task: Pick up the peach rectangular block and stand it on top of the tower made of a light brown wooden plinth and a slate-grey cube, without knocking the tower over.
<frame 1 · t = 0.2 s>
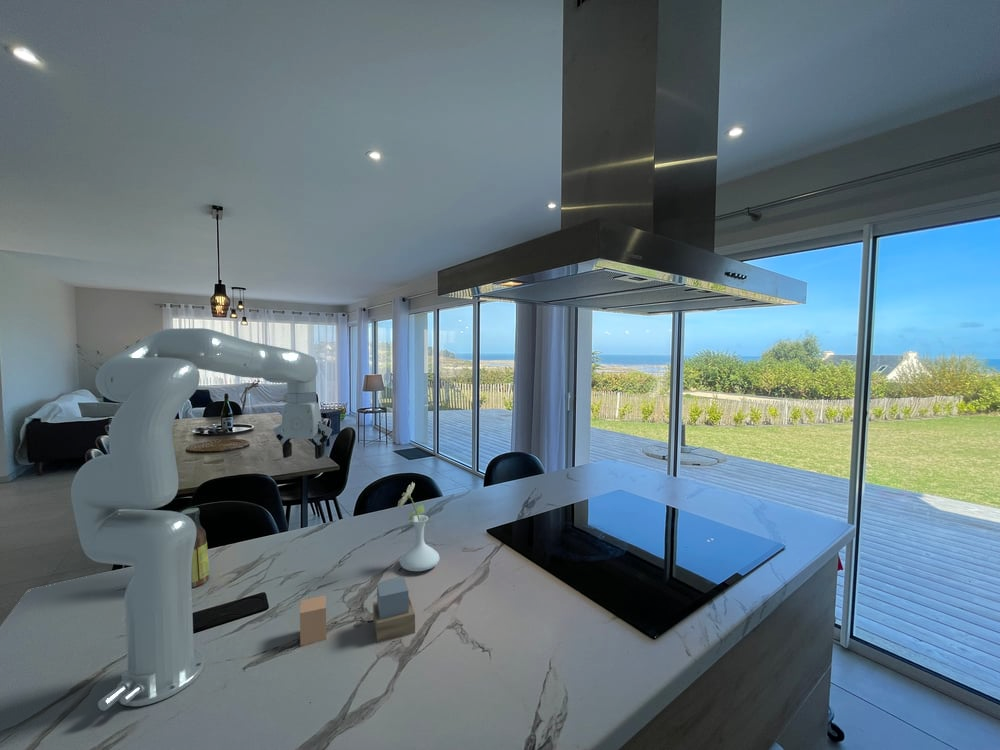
hand: (303, 457, 120), 31 cm above the kitchen island countertop, tool pointing down, fingers open, 9 cm apart
slate-grey cube: (392, 608, 92), point 4 cm above the kitchen island countertop
light brown wooden plinth: (393, 627, 92), on the kitchen island countertop
peach rectangular block: (313, 635, 89), on the kitchen island countertop
flower in vase: (417, 567, 118), on the kitchen island countertop
sauce bottle: (194, 584, 109), on the kitchen island countertop
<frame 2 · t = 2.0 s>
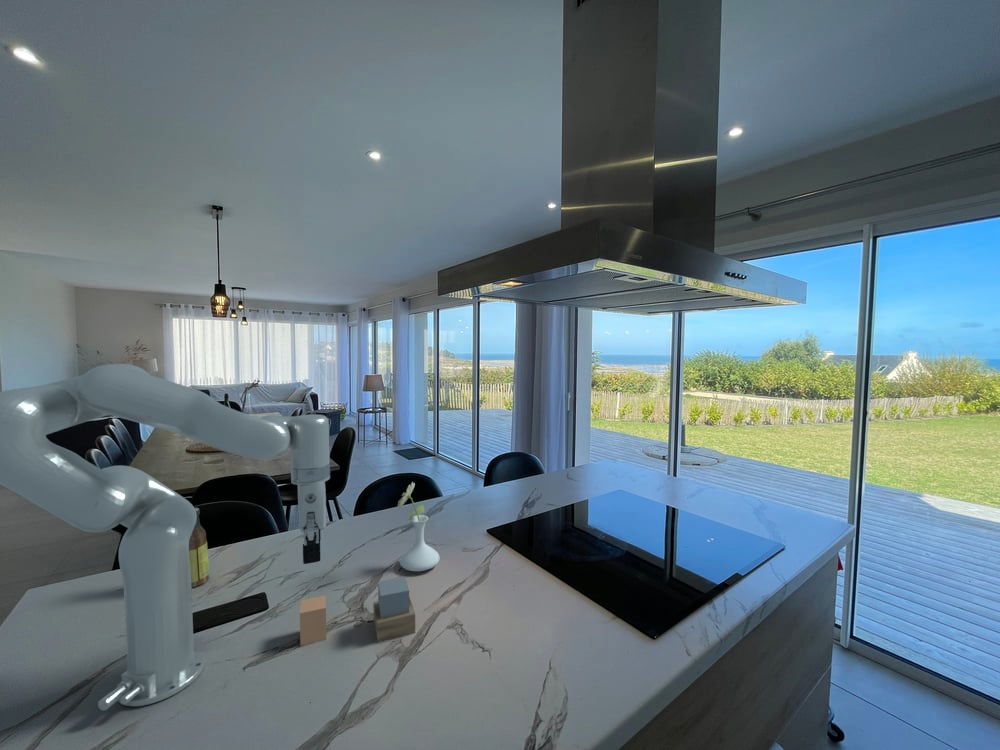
hand: (312, 551, 89), 18 cm above the kitchen island countertop, tool pointing down, fingers open, 9 cm apart
nothing on the kitchen island countertop moved.
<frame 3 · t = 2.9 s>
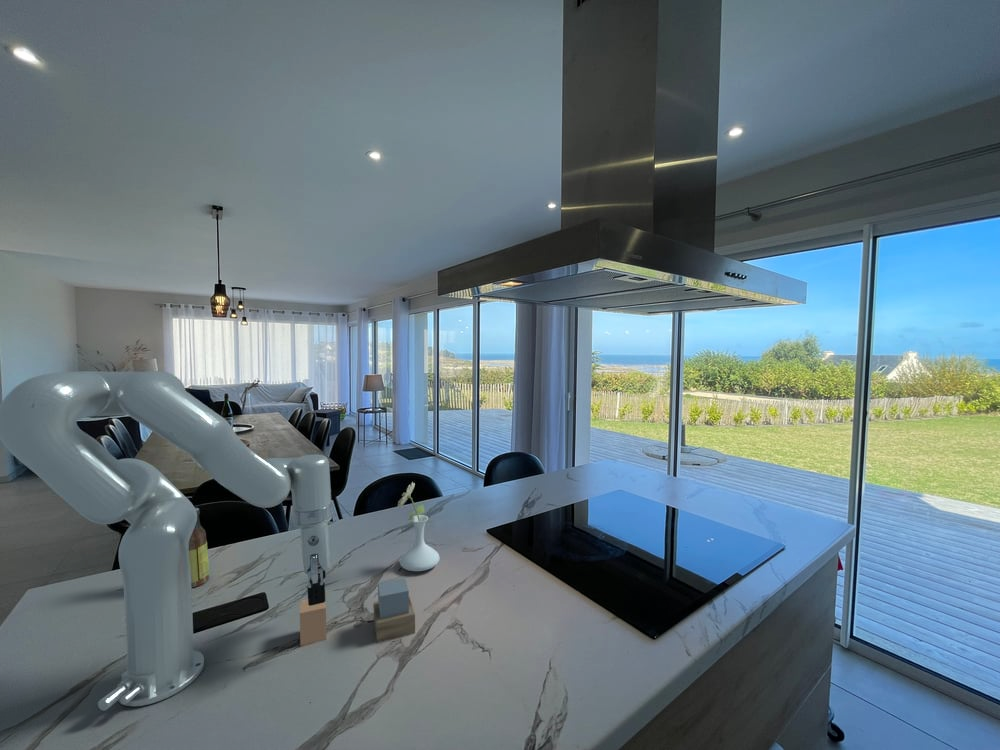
hand: (317, 590, 89), 10 cm above the kitchen island countertop, tool pointing down, fingers open, 9 cm apart
slate-grey cube: (393, 608, 92), point 4 cm above the kitchen island countertop, touching light brown wooden plinth
light brown wooden plinth: (393, 627, 92), on the kitchen island countertop, touching slate-grey cube
everything else where it was.
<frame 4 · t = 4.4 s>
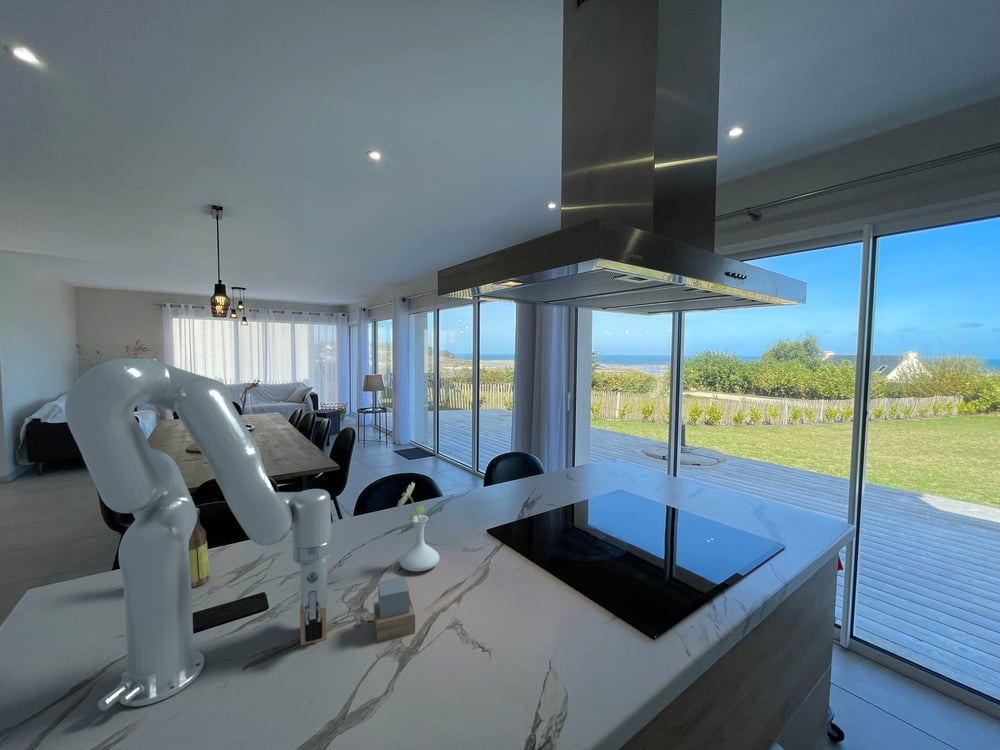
hand: (314, 630, 89), 1 cm above the kitchen island countertop, tool pointing down, fingers closed on peach rectangular block, 5 cm apart
slate-grey cube: (393, 607, 92), point 4 cm above the kitchen island countertop
light brown wooden plinth: (394, 627, 92), on the kitchen island countertop
peach rectangular block: (314, 635, 89), on the kitchen island countertop, touching gripper
everything else where it was.
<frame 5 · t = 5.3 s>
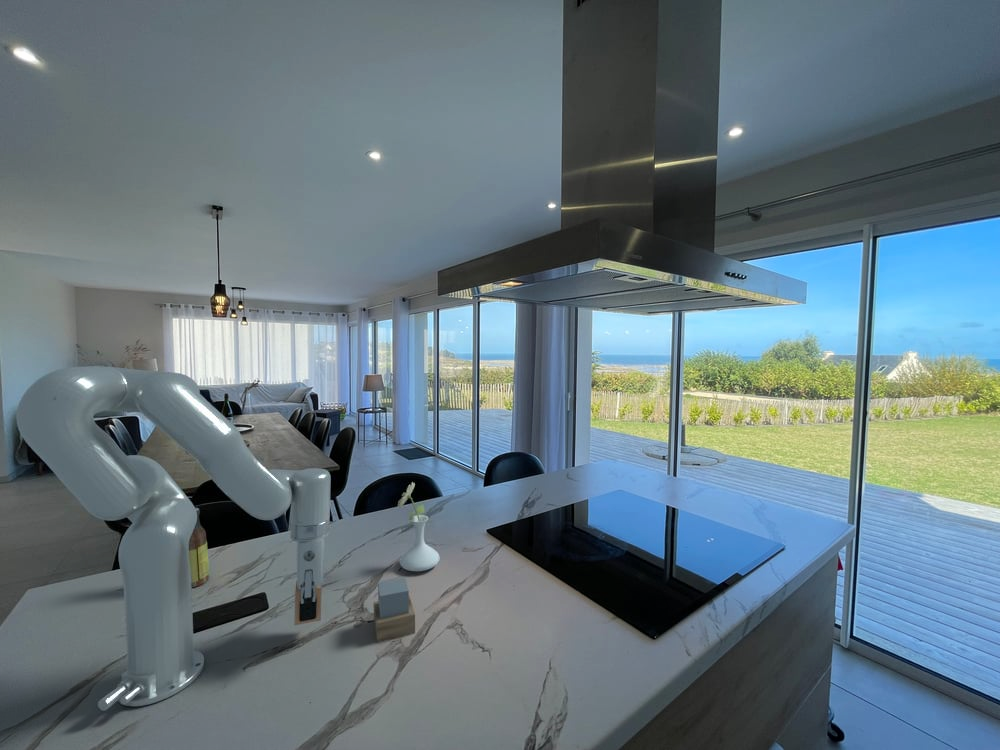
hand: (308, 610, 89), 6 cm above the kitchen island countertop, tool pointing down, fingers closed on peach rectangular block, 4 cm apart
slate-grey cube: (393, 608, 92), point 4 cm above the kitchen island countertop, touching light brown wooden plinth
light brown wooden plinth: (394, 627, 92), on the kitchen island countertop, touching slate-grey cube
peach rectangular block: (308, 615, 89), point 5 cm above the kitchen island countertop, touching gripper
everything else where it was.
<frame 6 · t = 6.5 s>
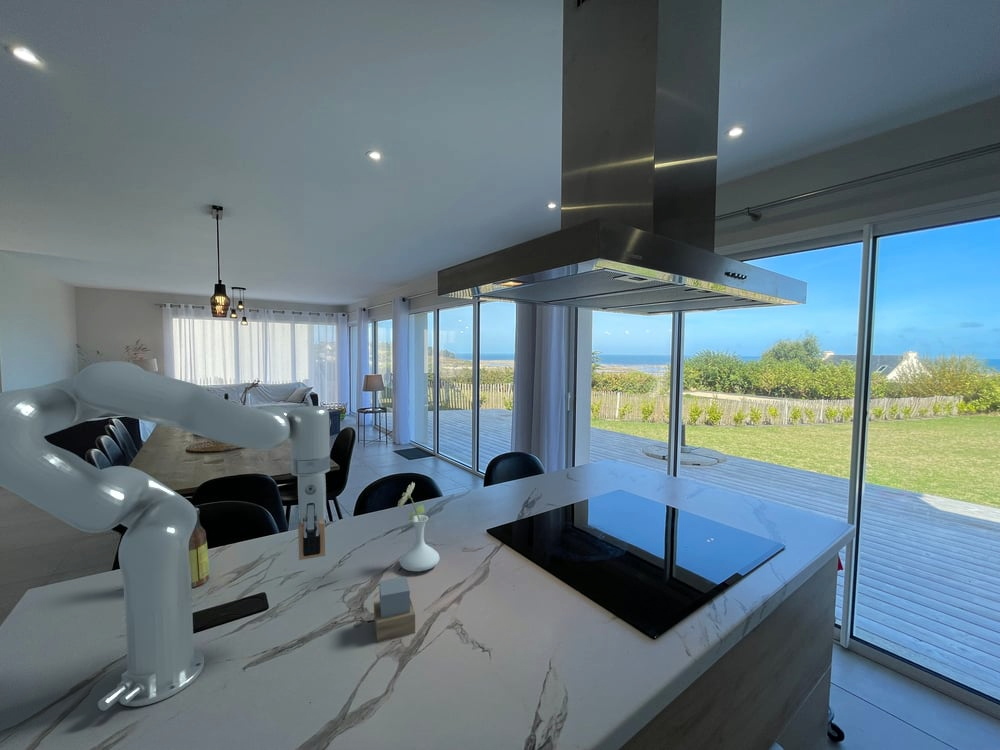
hand: (312, 547, 88), 19 cm above the kitchen island countertop, tool pointing down, fingers closed on peach rectangular block, 4 cm apart
peach rectangular block: (312, 552, 88), point 18 cm above the kitchen island countertop, touching gripper
everything else where it was.
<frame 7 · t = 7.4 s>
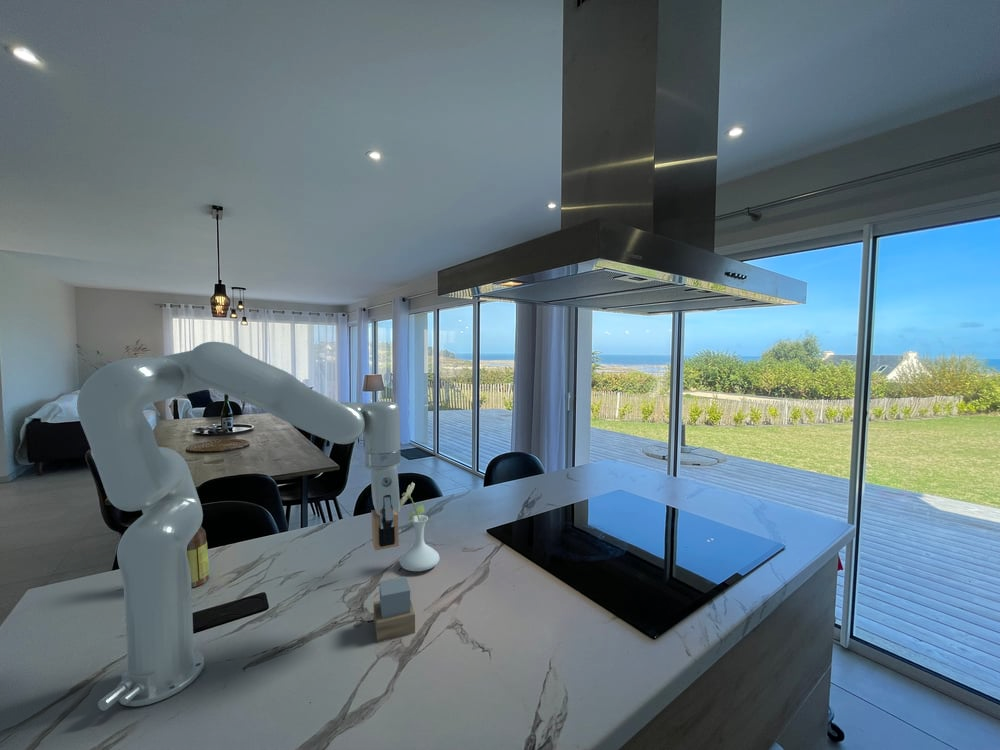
hand: (385, 538, 91), 20 cm above the kitchen island countertop, tool pointing down, fingers closed on peach rectangular block, 4 cm apart
peach rectangular block: (385, 543, 91), point 19 cm above the kitchen island countertop, touching gripper
everything else where it was.
when the fingers open (12 cm above the kitchen island countertop, at t = 9.8 s): peach rectangular block drops 2 cm, resting on slate-grey cube.
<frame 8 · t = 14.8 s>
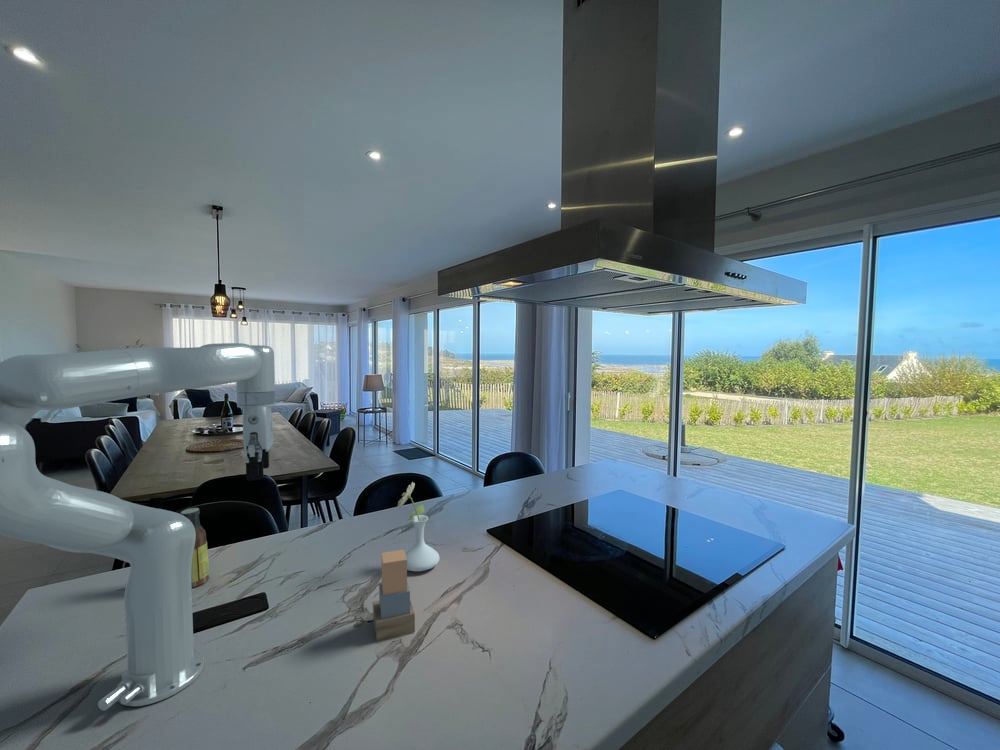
hand: (258, 473, 95), 33 cm above the kitchen island countertop, tool pointing down, fingers open, 9 cm apart
slate-grey cube: (394, 608, 92), point 4 cm above the kitchen island countertop, touching peach rectangular block, light brown wooden plinth
peach rectangular block: (394, 587, 91), point 9 cm above the kitchen island countertop, touching slate-grey cube
everything else where it was.
at the end: peach rectangular block 0.4 cm from the target spot, point 9.2 cm above the kitchen island countertop; slate-grey cube 0.4 cm off-centre on the light brown wooden plinth, point 4.5 cm above the light brown wooden plinth's base; peach rectangular block tilted 0° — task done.
